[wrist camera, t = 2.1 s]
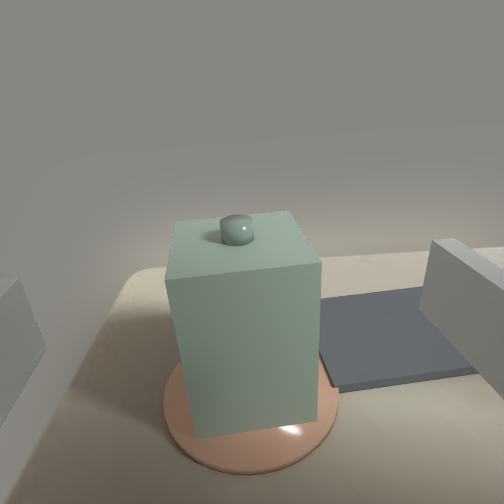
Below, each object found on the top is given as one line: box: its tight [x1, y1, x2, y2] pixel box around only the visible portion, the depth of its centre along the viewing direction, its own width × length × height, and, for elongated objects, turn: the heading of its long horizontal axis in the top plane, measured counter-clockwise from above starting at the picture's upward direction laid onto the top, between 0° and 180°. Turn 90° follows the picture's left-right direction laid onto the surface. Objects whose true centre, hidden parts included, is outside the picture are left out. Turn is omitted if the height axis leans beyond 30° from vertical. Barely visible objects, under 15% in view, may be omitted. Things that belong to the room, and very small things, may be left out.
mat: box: [319, 286, 479, 393], centre depth 32 cm, size 14×11×1 cm
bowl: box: [163, 353, 339, 475], centre depth 26 cm, size 13×13×4 cm
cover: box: [165, 211, 322, 439], centre depth 24 cm, size 8×8×13 cm
